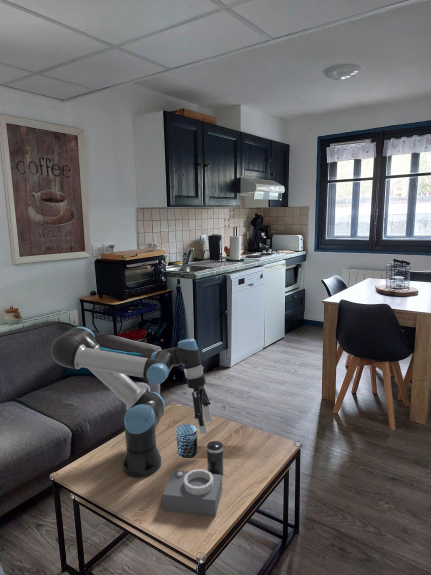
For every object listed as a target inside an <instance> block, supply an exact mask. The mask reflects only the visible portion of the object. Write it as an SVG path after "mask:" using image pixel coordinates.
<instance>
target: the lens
mask: <svg viewBox="0 0 431 575" xmlns="http://www.w3.org/2000/svg"><path fill="white" fill-rule="evenodd" d="M223 450H224V445H223V443H222V442H221V441H218V440H213V441H209V442H208V443H207V444H206V456H207V457H206V459H207V460H206V462H207V471H209V472H210V473H211V474H218V475H222V477H223V476H224V451H223Z"/></svg>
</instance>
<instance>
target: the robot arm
mask: <svg viewBox="0 0 431 575" xmlns="http://www.w3.org/2000/svg"><path fill="white" fill-rule="evenodd" d="M50 346H51V347H50V355H51V357H52V360H53V361H54V362H55V363H56V364H58V365H60V366H62V367H65V368H69V369H75V370H79V369H81V368H84V369H85V368H86V369H88V370H89V372H91V373H92V374H93V375H94V376H95V377H96V378H97V379H98V380H100V381H101V382H102V383H103V384H104V385H105V386H106V387H107V389H108V388H109V389H110V391H111V392H113V393H114V395H116V396H117V397H118V398H119V399H120V400H121V401H123V403H125V405H126V408H125V410H126V412H125V413H124V414H125V415H124V421H123V422H124V423H123V424H124V432H125V436H124V437H125V447H126V450H125V454H124V458H123V461H122V467H123V468H122V470H123V472H124V473H125V474H126V475H127V476H129V477H133V478H144V477H149V476H151V475H153V474H156V473H157V472H158V470H159V469H160V468H161V467H162V456H161V452H160V451H159V448H158V447H157V438H156V437H157V436H156V429H157V427H158V425H159V423H160V420H161V419H162V417H163V415H164V411H165V406H166V405H165V401H164V398H163V397H162V396H161V395H160V394H159V393H158V392H155V391H150V390H148V389H147V388H146V387H143V388H141V387H140V386H139V385H138V384H136V383H135V382H134V381H133V380H132V379H131V378H130V376H132V377H138V378H143V379H147V380H148V382H149V383H151V384H152V385H160V384H162V383H163V382H165V380H167V378H168V377H169V374H170V372H171V370H172V369H173V367H177V366H181V365H182V367H183V371H184V375H185V378H186V383H187V388H188V389H193V392H191V395H192V402H193V408H194V409H193V410H194V411H193V412H194V419H195V420H197V424H198V428H199V432H200V435H204V434H208V433H209V432H208V427H207V424H206V423H208V422H209V423H210V422H212V421H213V417H212V411H211V408H210V405H211V401H210V400H209V397H208V396H209V395H208V394H207V391H206V389H205V384H206V383H207V382H206V378H205V375H204V371H203V370H204V366H202V361H201V357H200V352H199V347H198V344H197V341H196V339H195V338H186V339H183V340H179V341H178V342H177V346H175V347H170V348H165V349H160V350H158V351H155V352H152V353H151V355H150V356H151V357H150V358H147V357H143V356H136V355H131V354H125V353H118V352H113V351H108V350H102V349H100V344H99V343H98V342H97V341H96V339H95V334H94V332H93V331H92V330H91V329H89V328H87V327H85V326H77V327H73V328H71V329H69V330H68V331H66V332H64V333H63V334H62V335H60V336H58V337H57V338H56V339H54V341H53V343H52V344H51V345H50Z"/></svg>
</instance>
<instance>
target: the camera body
mask: <svg viewBox="0 0 431 575" xmlns="http://www.w3.org/2000/svg"><path fill="white" fill-rule="evenodd" d="M222 492H223V476H222V475H218V474H211V473H210V472H209V471H208V469H200V468H196V469H193V470H190V471H186V470H185V471H184V470H178V469H177V470H176V469H173V471H172V473H171V475H170V478H169V480H168V482H167V484H166V486H165V489H164V491H163V493H162V507H163V508H162V509H163V511H166V512H167V511H168V512H175V513H176V512H177V513H183V514H194V515H201V516H210V517H216V516H217V513H218V508H219V505H220V500H221V496H222Z"/></svg>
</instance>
